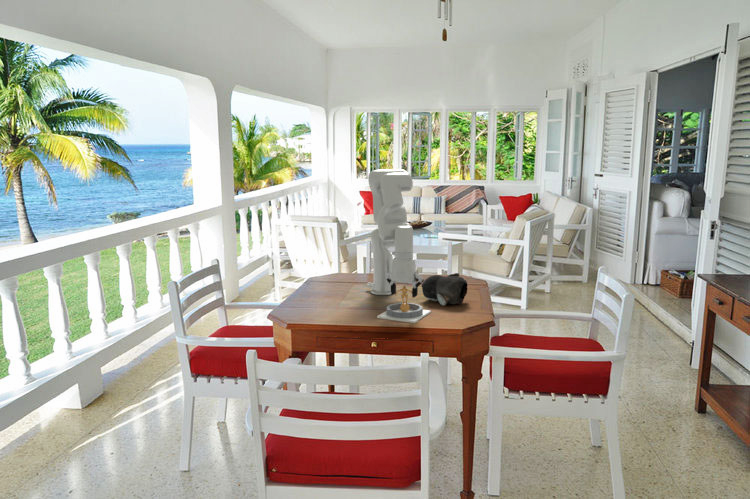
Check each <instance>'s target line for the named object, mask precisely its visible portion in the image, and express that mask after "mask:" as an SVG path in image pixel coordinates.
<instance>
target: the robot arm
mask: <svg viewBox="0 0 750 499" xmlns="http://www.w3.org/2000/svg"><path fill="white" fill-rule="evenodd" d="M367 179H368V185H369V189H370V191H371V194H372V208H373V209H372V213H373V216H372V217H373V222H374V224H376V225H377V228H376V229H373V230H372V231H371V234H370V242H371V247H372V264H373V265H372V266H373V267H372V268H373V271H372V272H373V282H367V283H366V286H367V287H368V288H371V289H370V293H371V294H373V295H377V296H387V295H389V296H390V295H391V296H393V295H395V294H396V292H397V283H399V284H405V285H406V284H407V285H411V286H412V290H411V291H412V293H411V294H412V296H411V297H412V298H413V299H414V298H416V297H417V296H418V288H419V287H420V285H422V283H423V282H424V281H423V279H424V280H425V278H424V277H423V276H421V275H420V274H417V273H416V268H417V266H416V261H415V258H414V229H413V226H412V225H411V224H410V222H408V214H407V210H406V208H405V207H404V199H403V195H402V194H403V193H405V192H406V193H407V192H410V191H412V189H413V186H414V182H413V178H412V176H411V173H409V172H408V171H407V170H405V169H401V168H398V169H397V168H395V169H393V168H391V169H390V168H389V169H388V168H385V169H384V168H382V169H374V170H371V171H370V172H369V174H368V178H367ZM402 192H403V193H402ZM388 248H394V251H392V252H390V250H388ZM393 256H394V257H393ZM416 278H417V279H419V281H418V283H417V282H416Z"/></svg>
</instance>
